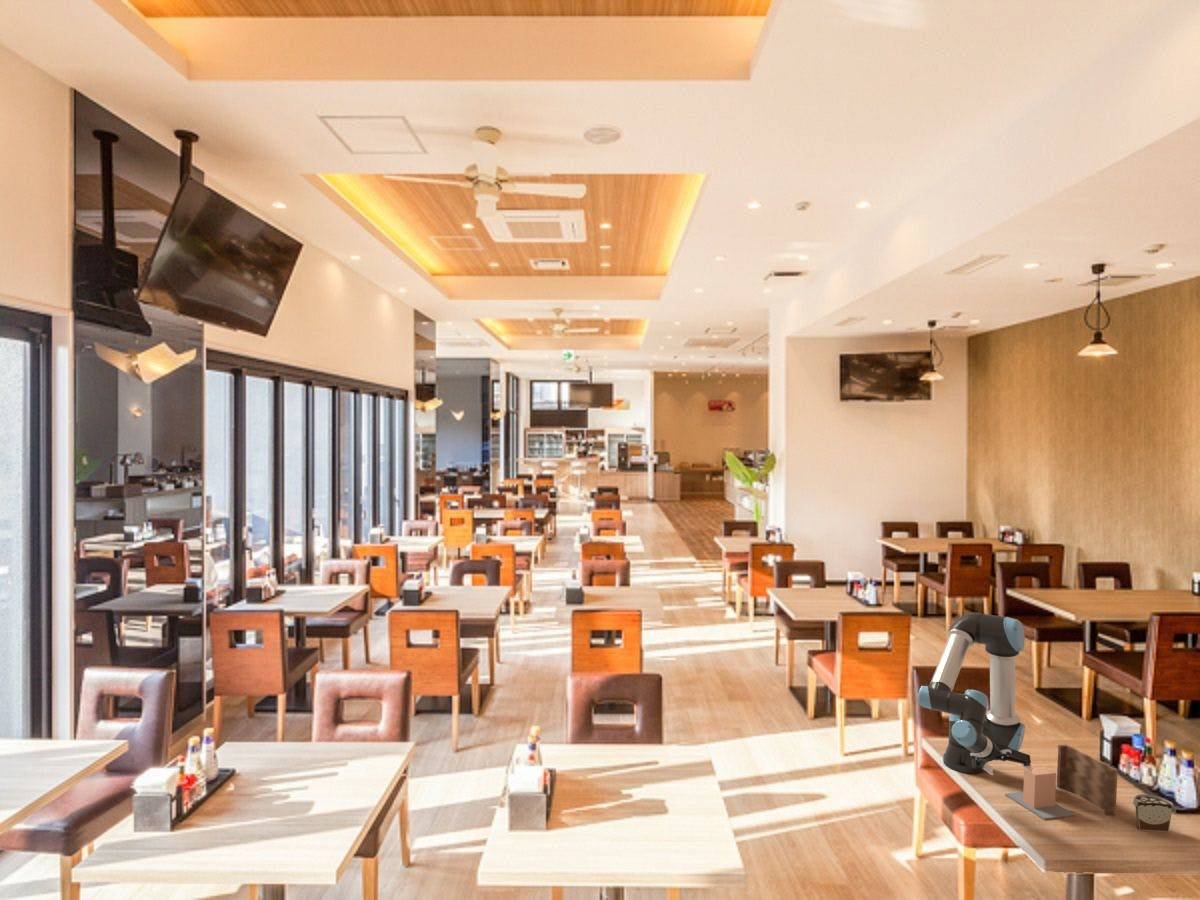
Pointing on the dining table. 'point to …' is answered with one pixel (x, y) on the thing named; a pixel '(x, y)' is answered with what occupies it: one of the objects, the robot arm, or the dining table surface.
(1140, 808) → the food container
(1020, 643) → the robot arm
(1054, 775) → the carton
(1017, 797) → the slate mat
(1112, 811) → the brown wooden board
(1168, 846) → the dining table surface
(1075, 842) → the dining table surface
